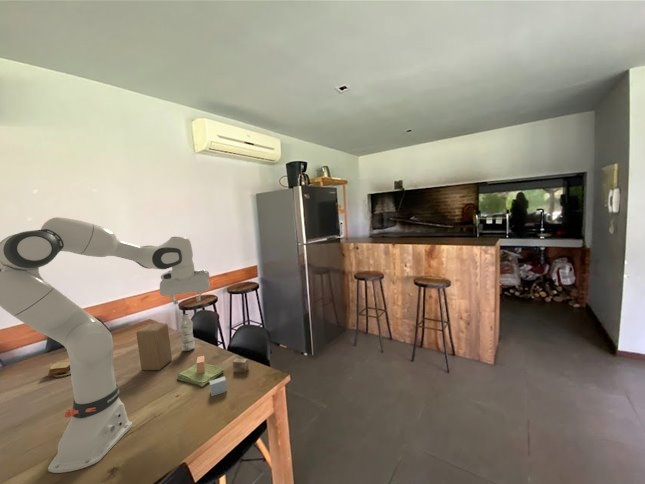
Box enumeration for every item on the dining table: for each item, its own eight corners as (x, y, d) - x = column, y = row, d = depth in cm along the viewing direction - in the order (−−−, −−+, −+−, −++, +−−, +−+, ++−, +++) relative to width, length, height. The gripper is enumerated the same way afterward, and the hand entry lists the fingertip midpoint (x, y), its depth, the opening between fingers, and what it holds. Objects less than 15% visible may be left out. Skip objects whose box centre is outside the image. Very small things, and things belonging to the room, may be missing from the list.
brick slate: (225, 387, 116) (224, 376, 115) (227, 391, 113) (225, 379, 113) (210, 392, 113) (209, 381, 113) (211, 396, 110) (210, 384, 110)
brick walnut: (248, 369, 129) (247, 359, 128) (245, 372, 126) (244, 362, 125) (236, 368, 130) (235, 358, 130) (233, 372, 127) (232, 361, 127)
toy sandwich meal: (78, 374, 134) (76, 365, 133) (43, 381, 130) (41, 372, 129) (91, 362, 146) (89, 353, 145) (60, 367, 142) (58, 359, 141)
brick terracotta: (204, 372, 124) (203, 361, 123) (197, 373, 123) (196, 363, 122) (205, 365, 129) (204, 355, 129) (198, 367, 128) (197, 356, 128)
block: (173, 359, 142) (168, 322, 140) (159, 370, 132) (154, 331, 130) (155, 359, 143) (150, 323, 141) (140, 371, 133) (135, 331, 131)
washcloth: (203, 389, 116) (202, 382, 116) (175, 380, 124) (174, 374, 124) (226, 372, 128) (225, 366, 128) (199, 365, 136) (199, 359, 135)
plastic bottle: (182, 348, 153) (178, 314, 151) (195, 345, 156) (191, 311, 154) (181, 354, 148) (177, 318, 146) (195, 350, 150) (191, 315, 148)
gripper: (209, 268, 129) (212, 297, 130) (160, 273, 123) (164, 303, 125) (207, 270, 123) (211, 300, 124) (156, 276, 117) (160, 307, 119)
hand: (187, 302), depth 124 cm, fingers open, 8 cm apart
